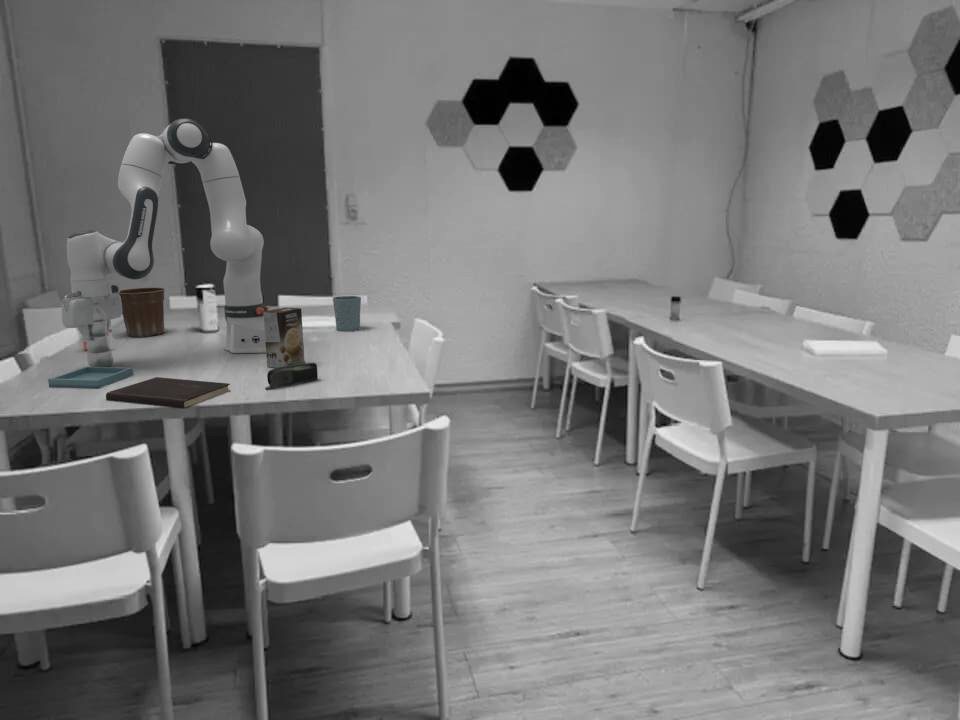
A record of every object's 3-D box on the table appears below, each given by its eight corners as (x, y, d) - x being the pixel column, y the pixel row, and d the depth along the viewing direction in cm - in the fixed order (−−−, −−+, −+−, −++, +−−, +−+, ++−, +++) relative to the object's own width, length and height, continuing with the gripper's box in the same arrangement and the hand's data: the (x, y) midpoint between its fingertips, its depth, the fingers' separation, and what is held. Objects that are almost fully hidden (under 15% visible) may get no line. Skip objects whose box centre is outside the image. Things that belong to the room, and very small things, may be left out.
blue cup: (330, 331, 247) (328, 298, 244) (340, 326, 257) (338, 295, 254) (357, 332, 245) (355, 299, 243) (366, 327, 255) (364, 295, 252)
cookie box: (283, 369, 191) (279, 312, 187) (266, 367, 193) (261, 311, 190) (305, 362, 199) (301, 308, 195) (288, 360, 201) (284, 306, 198)
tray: (133, 374, 186) (132, 367, 185) (98, 388, 172) (97, 380, 172) (87, 373, 188) (86, 366, 187) (49, 386, 174) (47, 379, 174)
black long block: (313, 360, 180) (260, 369, 169) (319, 362, 178) (266, 371, 167) (314, 379, 181) (261, 388, 170) (320, 381, 179) (267, 390, 168)
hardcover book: (157, 385, 177) (156, 377, 176) (230, 392, 169) (229, 383, 169) (106, 402, 162) (105, 393, 161) (184, 410, 154) (183, 400, 154)
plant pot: (117, 340, 236) (111, 293, 232) (123, 332, 250) (117, 288, 247) (168, 336, 241) (163, 291, 238) (171, 329, 256) (166, 286, 253)
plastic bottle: (103, 370, 191) (93, 300, 186) (82, 369, 192) (72, 299, 188) (119, 365, 197) (110, 297, 193) (99, 364, 199) (89, 296, 194)
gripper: (73, 294, 179) (80, 345, 182) (123, 285, 199) (129, 332, 202) (51, 294, 180) (59, 345, 183) (104, 285, 200) (110, 331, 203)
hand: (96, 338), depth 193 cm, fingers closed on plastic bottle, 6 cm apart
